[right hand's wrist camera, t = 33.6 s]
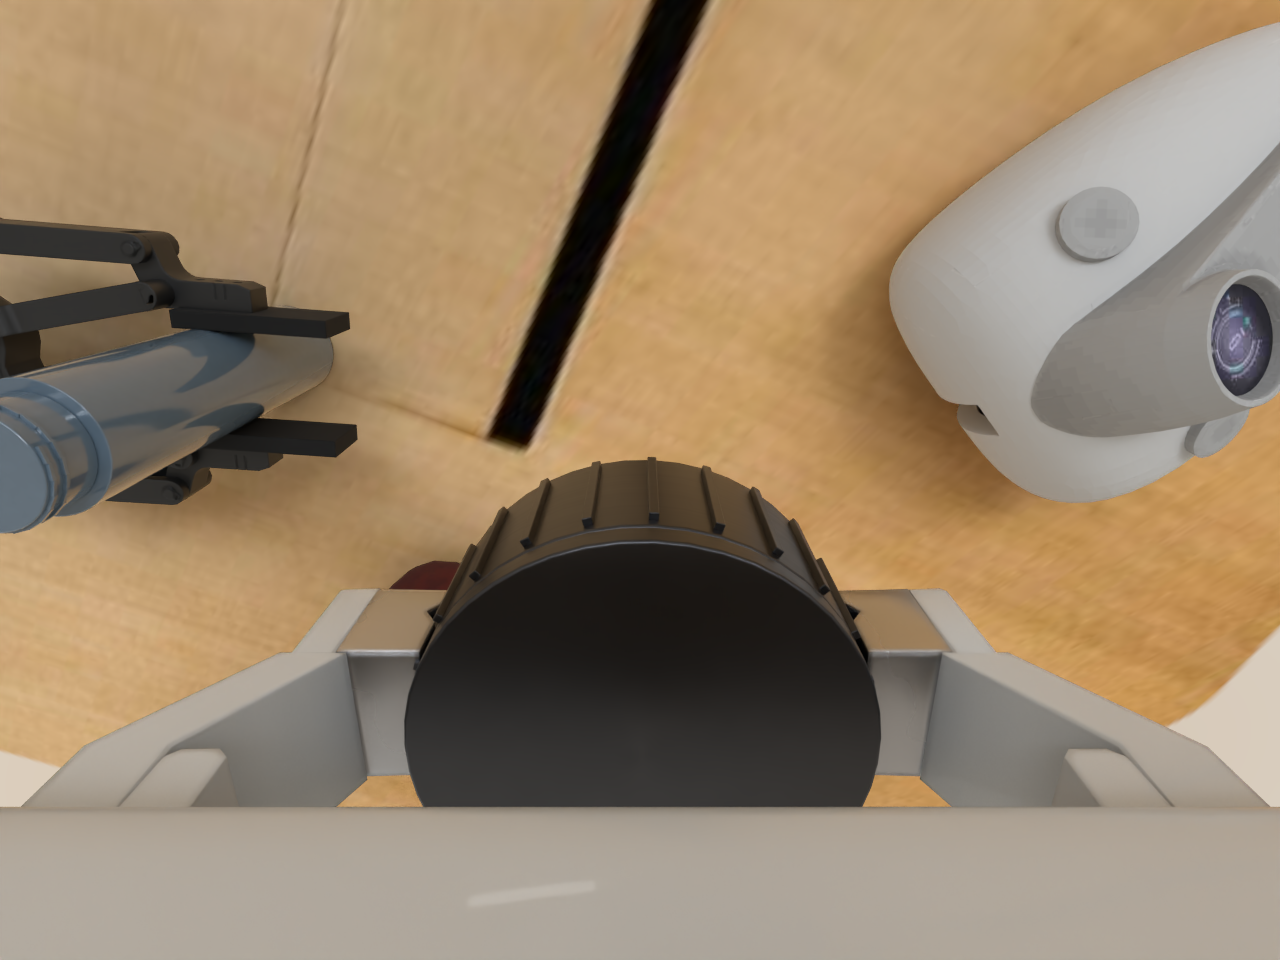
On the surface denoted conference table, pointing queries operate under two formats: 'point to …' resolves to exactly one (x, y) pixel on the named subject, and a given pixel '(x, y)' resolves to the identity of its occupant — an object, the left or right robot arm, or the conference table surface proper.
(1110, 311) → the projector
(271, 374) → the blue-grey bottle
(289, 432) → the left robot arm
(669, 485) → the lid
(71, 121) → the conference table surface
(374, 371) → the conference table surface
